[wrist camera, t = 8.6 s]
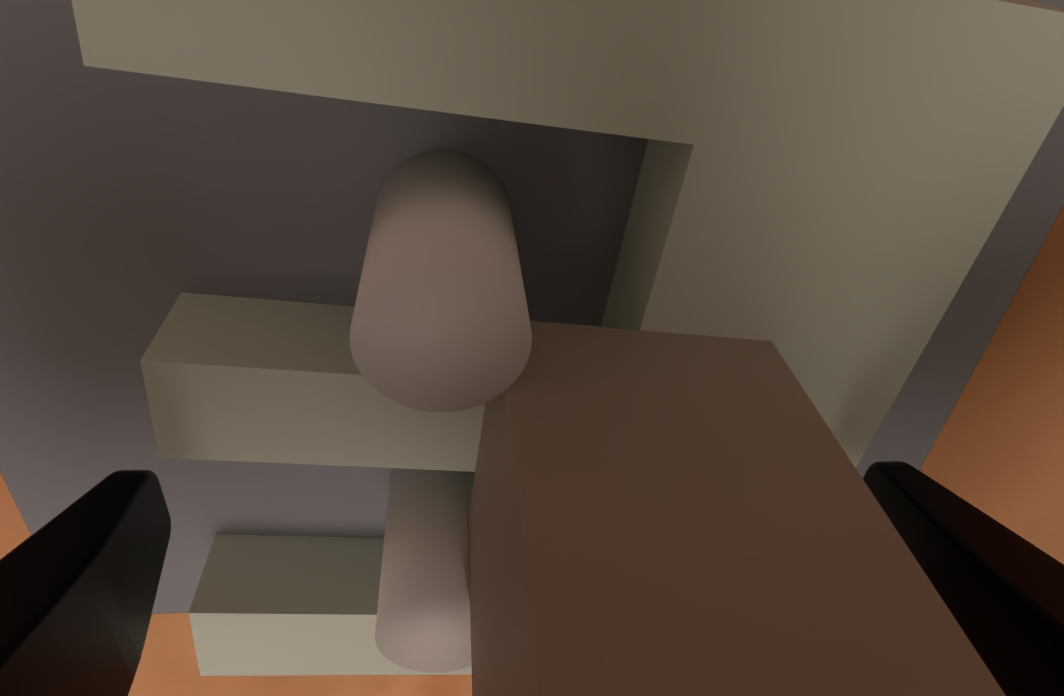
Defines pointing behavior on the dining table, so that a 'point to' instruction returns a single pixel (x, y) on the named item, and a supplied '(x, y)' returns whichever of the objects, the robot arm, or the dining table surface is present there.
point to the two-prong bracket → (630, 336)
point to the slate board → (334, 292)
